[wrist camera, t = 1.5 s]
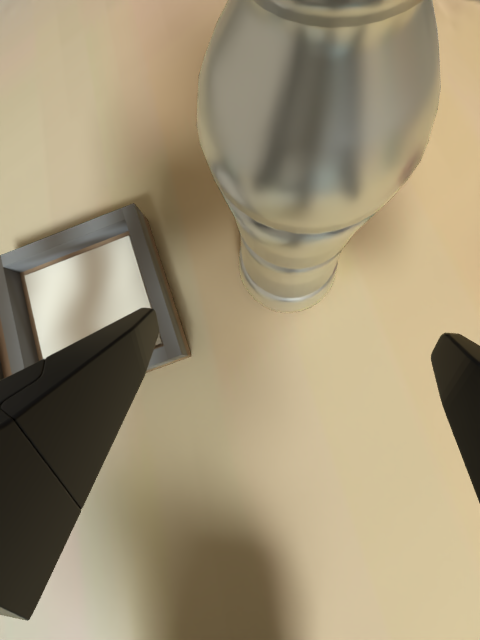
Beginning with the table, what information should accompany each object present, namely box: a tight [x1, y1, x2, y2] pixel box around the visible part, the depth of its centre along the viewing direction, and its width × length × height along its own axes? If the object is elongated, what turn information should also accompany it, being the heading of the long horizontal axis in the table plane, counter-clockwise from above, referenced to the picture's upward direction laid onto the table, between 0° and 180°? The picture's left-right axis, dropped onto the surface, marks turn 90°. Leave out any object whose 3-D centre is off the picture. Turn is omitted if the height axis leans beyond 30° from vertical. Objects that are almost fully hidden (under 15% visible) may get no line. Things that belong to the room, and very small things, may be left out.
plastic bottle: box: [197, 0, 441, 313], centre depth 13 cm, size 6×7×20 cm
